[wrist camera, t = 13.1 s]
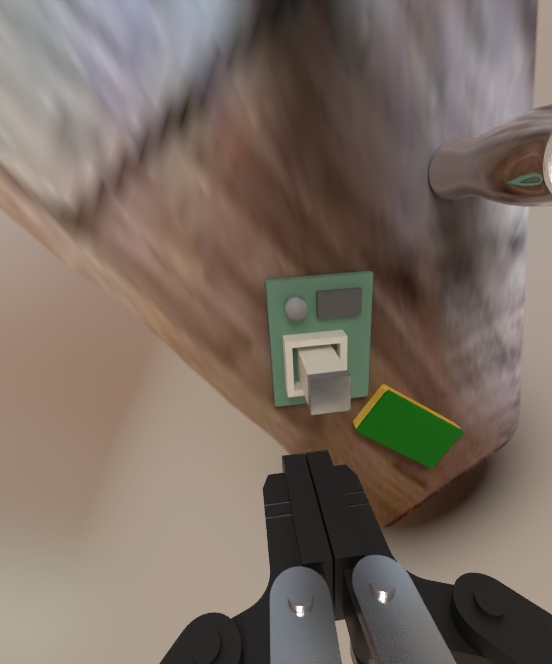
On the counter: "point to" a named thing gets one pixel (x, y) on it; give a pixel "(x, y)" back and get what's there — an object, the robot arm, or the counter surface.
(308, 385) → the plug
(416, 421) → the dish sponge
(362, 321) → the board
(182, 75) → the counter surface
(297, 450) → the counter surface
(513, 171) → the beer glass
